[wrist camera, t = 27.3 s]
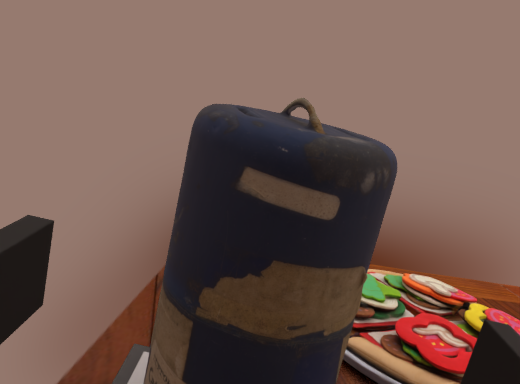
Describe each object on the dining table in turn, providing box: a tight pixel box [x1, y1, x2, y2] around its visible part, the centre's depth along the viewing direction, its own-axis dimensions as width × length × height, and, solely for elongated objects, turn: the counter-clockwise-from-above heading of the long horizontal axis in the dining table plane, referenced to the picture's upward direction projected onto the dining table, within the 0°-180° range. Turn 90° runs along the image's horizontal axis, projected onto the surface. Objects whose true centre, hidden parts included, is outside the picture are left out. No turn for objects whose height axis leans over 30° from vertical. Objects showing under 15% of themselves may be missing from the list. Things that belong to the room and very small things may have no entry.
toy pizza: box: [343, 269, 520, 384], centre depth 49 cm, size 28×28×4 cm
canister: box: [143, 98, 397, 384], centre depth 23 cm, size 10×10×18 cm
